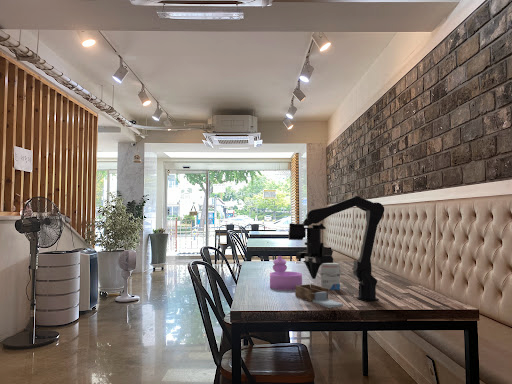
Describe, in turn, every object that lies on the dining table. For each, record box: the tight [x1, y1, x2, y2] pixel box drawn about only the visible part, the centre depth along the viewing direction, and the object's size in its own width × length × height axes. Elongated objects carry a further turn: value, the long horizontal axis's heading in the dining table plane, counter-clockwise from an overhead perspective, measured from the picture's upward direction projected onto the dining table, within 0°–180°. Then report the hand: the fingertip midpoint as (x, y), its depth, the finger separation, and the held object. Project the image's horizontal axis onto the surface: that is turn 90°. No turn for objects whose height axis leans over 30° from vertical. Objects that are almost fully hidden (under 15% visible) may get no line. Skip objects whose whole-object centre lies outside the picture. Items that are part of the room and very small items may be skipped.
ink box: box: [319, 262, 341, 291], centre depth 176 cm, size 8×5×12 cm, turn 84°
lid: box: [312, 292, 344, 309], centre depth 145 cm, size 10×7×4 cm, turn 25°
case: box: [294, 283, 329, 303], centre depth 155 cm, size 12×8×4 cm, turn 25°
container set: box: [269, 255, 303, 291], centre depth 185 cm, size 25×15×13 cm, turn 9°
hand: (313, 278), depth 154 cm, fingers closed
